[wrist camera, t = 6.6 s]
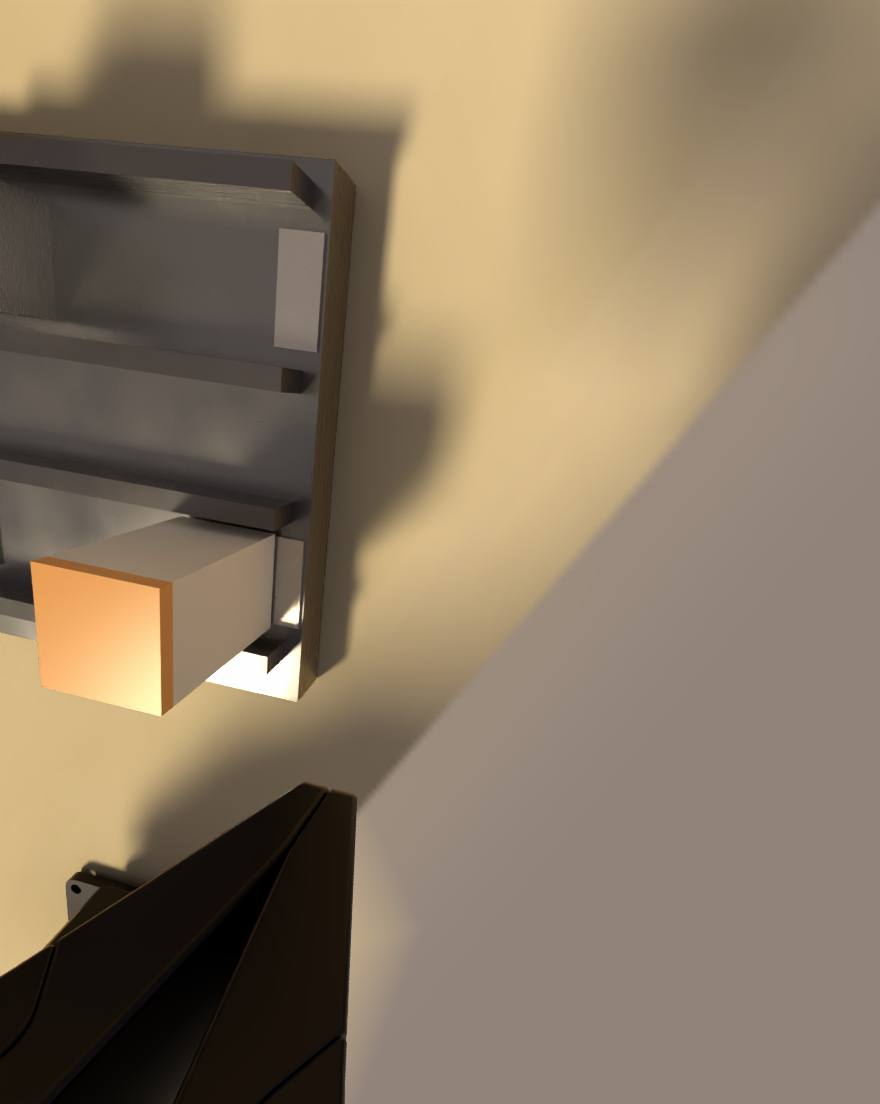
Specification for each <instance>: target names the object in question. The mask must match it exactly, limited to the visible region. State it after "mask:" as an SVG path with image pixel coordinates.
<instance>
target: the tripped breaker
mask: <svg viewBox="0 0 880 1104" xmlns="http://www.w3.org/2000/svg"><path fill="white" fill-rule="evenodd" d="M274 547H275V534H273V533H267V532H262V531H257V530H252V529H246V528H241V527H236V526H231V525H225V524H220V523H215V522H209V521H204V520H199V519H194V518H188V517H183V516H180V517H177V518H174V519H170V520H167V521H164V522H160V523H157V524H154V525H150V526H147V527H143V528H140V529H137V530H133V531H130V532H127V533H123V534H120V535H117V536H113V537H110V538H107V539H103V540H100V541H97V542H93V543H90V544H87V545H83V546H80V547H77V548H73V549H70V550H67V551H63V552H60V553H56V554H53V555H50V556H46V557H43V558H40V559H36V560H33V561H30V563H31V574H32V586H33V597H34V608H35V620H36V631H37V642H38V654H39V665H40V676H41V687H45V688H49V689H53V690H57V691H61V692H65V693H69V694H73V695H77V696H81V697H85V698H89V699H93V700H97V701H101V702H105V703H109V704H113V705H117V706H121V707H125V708H129V709H133V710H137V711H141V712H146V713H150V714H154V715H158V716H162V715H164V714H165V713H166V712H167V711H169V710H170V709H171V708H172V707H174V706H175V705H176V704H177V703H178V702H180V701H181V700H182V699H183V698H185V697H186V696H187V695H188V694H190V693H191V692H192V691H193V690H194V689H196V688H197V687H198V686H199V685H201V684H202V683H203V682H204V681H206V680H207V679H208V678H209V677H210V676H212V675H213V674H214V673H215V672H217V671H218V670H219V669H220V668H222V667H223V666H224V665H225V664H226V663H228V662H229V661H230V660H231V659H233V658H234V657H235V656H236V655H238V654H239V653H240V652H241V651H242V650H244V649H245V648H246V647H247V646H249V645H250V644H251V643H252V642H254V641H255V640H256V639H257V638H258V637H260V636H261V635H262V634H263V633H265V632H266V631H267V630H268V629H270V626H271V606H272V587H273V567H274Z"/></svg>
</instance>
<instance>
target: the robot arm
mask: <svg viewBox="0 0 880 1104" xmlns="http://www.w3.org/2000/svg"><path fill="white" fill-rule="evenodd" d="M356 809H357V797H356V796H355V795H354V794H351V793H347V792H343V791H339V790H335V789H333V790H331V791H329V790H328V788H326V787H324V786H320V785H316V784H312V783H308V782H304V783H301V784H299V785H297V786H296V787H294V788H293V789H291V790H290V791H288V792H286V793H285V794H283V795H282V796H280V797H279V798H277V799H276V800H274V801H272V802H271V803H269V804H268V805H266V806H265V807H263V808H262V809H260V810H259V811H257V812H255V813H254V814H252V815H251V816H249V817H248V818H246V819H245V820H243V821H241V822H240V823H238V824H237V825H235V826H234V827H232V828H231V829H229V830H228V831H226V832H224V833H223V834H221V835H220V836H218V837H217V838H215V839H214V840H212V841H210V842H209V843H207V844H206V845H204V846H203V847H201V848H200V849H198V850H197V851H195V852H193V853H192V854H190V855H189V856H187V857H186V858H184V859H183V860H181V861H179V862H178V863H176V864H175V865H173V866H172V867H170V868H169V869H167V870H166V871H164V872H162V873H161V874H159V875H158V876H156V877H155V878H153V879H152V880H150V881H148V882H147V883H145V884H144V885H142V886H141V887H139V888H138V889H137V888H134V887H131V886H127V885H124V884H120V883H117V882H114V881H110V880H107V879H104V878H100V877H97V876H94V875H90V874H87V873H84V872H77V873H75V874H74V875H73V876H72V877H71V878H70V879H69V880H68V881H67V882H66V896H67V908H68V920H69V921H68V922H67V923H66V925H65V926H64V927H63V928H62V929H61V930H60V931H59V932H58V933H57V934H56V935H55V936H54V938H53V939H52V940H51V941H50V942H49V943H48V944H47V945H46V946H45V947H44V948H43V950H41V951H39V952H38V953H36V954H35V955H33V956H32V957H30V958H29V959H27V960H25V961H24V962H22V963H21V964H19V965H18V966H16V967H15V968H13V969H11V970H10V971H8V972H7V973H5V974H3V975H2V976H0V1104H345V1071H346V1048H347V1047H346V1046H347V1043H346V1035H347V1015H348V993H349V969H350V947H351V923H352V900H353V878H354V877H353V876H354V855H355V831H356Z"/></svg>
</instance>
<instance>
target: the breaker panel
mask: <svg viewBox="0 0 880 1104" xmlns="http://www.w3.org/2000/svg"><path fill="white" fill-rule="evenodd" d="M355 189H356V185H355V184H354V182H353V181H352V180H351V179H350V178H349V176H348V175H347V174H346V173H345V172H344V170H343V169H342V168H341V167H340V165H339V164H338V163H337V162H336V161H335V160H329V159H317V158H305V157H294V156H282V155H270V154H258V153H247V152H235V151H223V150H211V149H200V148H188V147H176V146H164V145H153V144H141V143H129V142H117V141H106V140H94V139H82V138H71V137H59V136H47V135H35V134H24V133H12V132H0V632H1V633H5V634H9V635H14V636H18V637H22V638H26V639H31V640H35V641H37V631H36V620H35V608H34V597H33V586H32V574H31V563H30V561H33V560H36V559H40V558H43V557H46V556H50V555H53V554H56V553H60V552H63V551H67V550H70V549H73V548H77V547H80V546H83V545H87V544H90V543H93V542H97V541H100V540H103V539H107V538H110V537H113V536H117V535H120V534H123V533H127V532H130V531H133V530H137V529H140V528H143V527H147V526H150V525H154V524H157V523H160V522H164V521H167V520H170V519H174V518H177V517H180V516H183V517H188V518H194V519H199V520H204V521H209V522H215V523H220V524H225V525H231V526H236V527H241V528H246V529H252V530H257V531H262V532H267V533H273V534H275V547H274V567H273V587H272V606H271V626H270V629H268V630H267V631H266V632H265V633H263V634H262V635H261V636H260V637H258V638H257V639H256V640H255V641H254V642H252V643H251V644H250V645H249V646H247V647H246V648H245V649H244V650H242V651H241V652H240V653H239V654H238V655H236V656H235V657H234V658H233V659H231V660H230V661H229V662H228V663H226V664H225V665H224V666H223V667H222V668H220V669H219V670H218V671H217V672H215V673H214V674H213V675H212V676H210V677H209V678H208V679H207V680H206V681H210V682H214V683H219V684H223V685H227V686H231V687H236V688H240V689H244V690H248V691H253V692H257V693H261V694H265V695H270V696H274V697H278V698H283V699H287V700H291V701H295V702H298V701H299V699H300V698H301V697H302V696H303V695H304V693H305V692H306V691H307V690H308V689H309V687H310V686H311V685H312V684H313V682H314V681H315V680H316V675H317V663H318V650H319V638H320V625H321V613H322V600H323V588H324V575H325V563H326V551H327V538H328V526H329V513H330V501H331V488H332V476H333V463H334V451H335V438H336V426H337V413H338V401H339V388H340V376H341V363H342V351H343V338H344V326H345V313H346V301H347V288H348V276H349V263H350V251H351V238H352V226H353V214H354V201H355Z"/></svg>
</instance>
